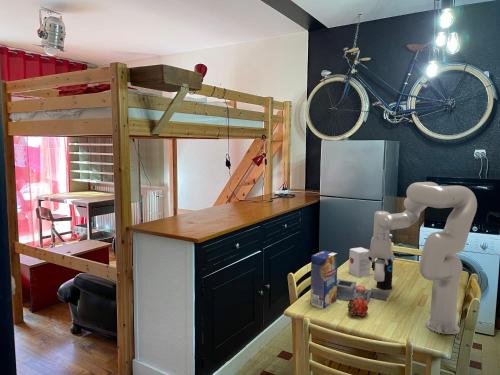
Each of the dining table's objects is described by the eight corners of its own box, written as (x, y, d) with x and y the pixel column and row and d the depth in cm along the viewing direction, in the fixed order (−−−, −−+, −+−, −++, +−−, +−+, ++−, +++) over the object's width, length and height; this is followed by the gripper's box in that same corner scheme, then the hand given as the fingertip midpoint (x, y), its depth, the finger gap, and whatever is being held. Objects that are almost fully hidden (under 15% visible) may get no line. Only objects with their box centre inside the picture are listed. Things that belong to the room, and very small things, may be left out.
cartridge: (383, 282, 186) (384, 262, 185) (373, 280, 189) (374, 261, 187) (384, 278, 191) (385, 260, 190) (374, 277, 193) (375, 258, 192)
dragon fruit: (347, 321, 165) (362, 317, 173) (362, 315, 160) (377, 311, 168) (340, 302, 169) (355, 299, 177) (354, 296, 163) (369, 293, 171)
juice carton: (324, 308, 174) (325, 259, 171) (310, 304, 179) (311, 255, 176) (336, 300, 183) (337, 253, 180) (323, 296, 188) (324, 250, 185)
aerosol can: (374, 288, 199) (376, 252, 197) (377, 283, 206) (378, 248, 204) (391, 291, 195) (392, 254, 193) (393, 286, 202) (394, 250, 200)
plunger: (364, 298, 180) (364, 289, 179) (354, 296, 182) (354, 288, 181) (366, 295, 184) (366, 286, 183) (356, 293, 186) (356, 284, 185)
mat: (386, 300, 183) (386, 299, 183) (367, 297, 187) (367, 296, 187) (389, 292, 194) (389, 291, 194) (371, 289, 198) (371, 288, 198)
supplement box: (348, 272, 223) (349, 248, 222) (359, 270, 227) (360, 246, 225) (358, 277, 215) (359, 252, 213) (370, 275, 219) (371, 250, 217)
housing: (367, 304, 178) (367, 294, 178) (330, 297, 187) (330, 288, 186) (372, 294, 191) (372, 284, 191) (337, 287, 200) (337, 278, 199)
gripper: (400, 236, 186) (398, 271, 189) (365, 232, 194) (363, 266, 196) (398, 239, 180) (396, 275, 182) (362, 235, 188) (360, 270, 190)
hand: (379, 270), depth 189 cm, fingers closed on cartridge, 5 cm apart
